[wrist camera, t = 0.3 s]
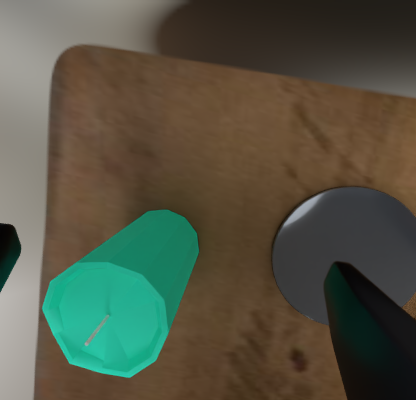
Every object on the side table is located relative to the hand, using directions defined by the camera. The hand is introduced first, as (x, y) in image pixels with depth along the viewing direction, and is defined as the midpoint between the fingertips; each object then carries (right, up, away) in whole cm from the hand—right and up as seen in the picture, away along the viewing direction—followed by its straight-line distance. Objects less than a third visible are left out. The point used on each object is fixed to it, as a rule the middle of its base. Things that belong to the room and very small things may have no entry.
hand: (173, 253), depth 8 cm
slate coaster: (+11, -3, +14) cm, 18 cm away
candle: (-3, -2, +15) cm, 16 cm away
